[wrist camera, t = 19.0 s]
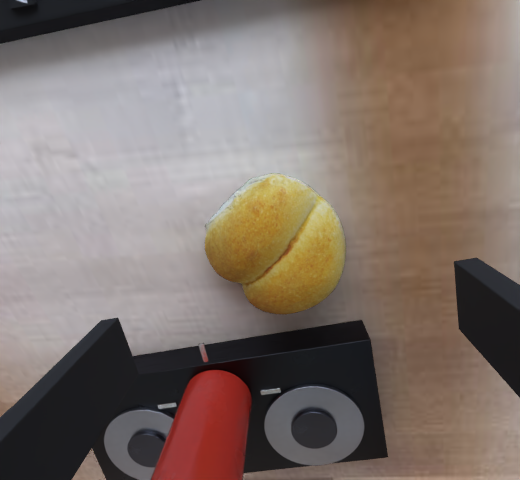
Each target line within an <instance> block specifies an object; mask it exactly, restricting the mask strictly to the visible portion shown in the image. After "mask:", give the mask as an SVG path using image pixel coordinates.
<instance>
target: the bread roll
mask: <svg viewBox="0 0 520 480" xmlns="http://www.w3.org/2000/svg"><path fill="white" fill-rule="evenodd" d="M205 227H206V238H205V251H206V255H207V257H208V259H209V262H210V264H211V266H212V267H213V269H214V270H215V271H216V272H217V274H219V275H220V276H221V277H223V278H225V279H227V280H229V281H232V282H237V283H241V284H242V286H243V290H244V293H245V295H246V297H247V299H248V300H249V302H250V303H251V304H252V305H253V306H255V307H256V308H258V309H260V310H262V311H265V312H269V313H274V314H291V313H296V312H300V311H303V310H306V309H309V308H311V307H313V306H315V305H317V304H318V303H320V302H321V301H323V300H324V299H325V298H327V297H328V296H329V295H330V294H331V293H332V291H333V290H334V289H335V287H336V285H337V284H338V282H339V280H340V277H341V274H342V272H343V268H344V263H345V256H346V243H345V236H344V232H343V228H342V224H341V222H340V220H339V218H338V216H337V214H336V212H335V211H334V209H333V208H332V206H331V205H330V204H329V203H328V202H327V201H326V200H325V199H323V198H322V197H321V196H319V195H318V194H317V193H316V192H315V191H314V190H313V189H312V188H311V187H309V186H308V185H306V184H305V183H303V182H302V181H299V180H297V179H295V178H292V177H290V176H286V175H282V174H278V173H271V174H267V175H263V176H259V177H256V178H251V179H250V180H248V181H247V182H246V183H245V184H244V185H243V186H242V187H240V188H239V189H238V190H237V191H236V192H235V193H234V194H233V195H232V196H231V197H230V198H229V199H228V201H226V202H225V203H223V205H222V206H221V207H220V209H219V211H218V212H217V213H216V214H215V215H213V216H212V218H211V220H210V221H209V222H208V223H207V224H206V225H205Z"/></svg>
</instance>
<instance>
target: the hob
mask: <svg viewBox="0 0 520 480" xmlns="http://www.w3.org/2000/svg"><path fill="white" fill-rule="evenodd" d="M132 357H133V359H134V362H135V365H136V367H137V370H138V373H139V374H138V376H137V378H136V379H135V381H134V382H133V384H132V385H131V387H130V389H129V390H128V392H127V393H126V395H125V396H124V398H123V400H122V401H121V403H120V404H119V406H118V407H117V409H116V410H115V412H114V414H113V415H112V417H111V418H110V420H109V421H108V423H107V425H106V426H105V428H104V429H103V431H102V432H101V434H100V436H99V437H98V439H97V440H96V442H95V443H94V445H93V447H92V449H93V451H94V454H95V456H96V458H97V460H98V462H99V464H100V467H101V469H102V471H103V473H104V475H105V478H106V480H138V479H136V478H133V477H131V476H129V475H127V474H126V473H124V472H123V471H121V470H120V469H119V468H118V467H117V466H116V465H115V464H114V463H113V462H112V461H111V459H110V458H109V456H108V454H107V452H106V449H105V445H104V436H105V432H106V429H107V427H108V425H109V424H110V422H111V421H112V420H113V419H114V418H115V417H116V416H117V415H119V414H120V413H122V412H124V411H126V410H129V409H133V408H139V407H149V408H156V409H160V410H163V411H166V412H168V413H170V414H172V415H174V416H175V414H176V412H177V409H178V406H179V404H180V401H181V399H182V396H183V393H184V391H185V388H186V386H187V384H188V382H189V381H190V380H191V379H192V378H193V377H194V376H196V375H197V374H199V373H201V372H204V371H208V370H223V371H227V372H230V373H232V374H234V375H236V376H237V377H239V378H240V379H241V380H242V381H243V382H244V383H245V384H246V385H247V387H248V389H249V390H250V393H251V397H252V404H251V412H250V421H249V429H248V438H247V447H246V455H245V464H244V472H243V473H248V472H257V471H266V470H276V469H285V468H294V467H303V466H313V465H304V464H300V463H296V462H293V461H291V460H289V459H287V458H285V457H283V456H282V455H280V454H279V453H278V452H277V451H276V450H275V449H274V448H273V447H272V446H271V444H270V443H269V441H268V439H267V436H266V434H265V429H264V421H265V415H266V412H267V409H268V407H269V405H270V404H271V403H272V401H273V400H274V399H275V398H276V397H277V396H278V395H280V394H281V393H282V392H284V391H286V390H288V389H290V388H292V387H296V386H299V385H304V384H321V385H327V386H331V387H334V388H336V389H339V390H341V391H343V392H344V393H346V394H347V395H348V396H350V397H351V398H352V399H353V400H354V401H355V402H356V404H357V405H358V407H359V408H360V410H361V413H362V416H363V420H364V433H363V437H362V440H361V442H360V444H359V445H358V447H357V448H356V449H355V450H354V451H353V452H352V453H351V454H350V455H348V456H347V457H345V458H344V459H342V460H340V461H337V462H335V463H340V462H349V461H359V460H368V459H377V458H386V457H388V454H387V447H386V440H385V434H384V427H383V421H382V414H381V407H380V401H379V394H378V387H377V381H376V374H375V367H374V361H373V354H372V347H371V341H370V338H369V335H368V333H367V331H366V328H365V326H364V324H363V321H362V320H359V321H353V322H346V323H340V324H334V325H327V326H321V327H315V328H309V329H302V330H296V331H290V332H283V333H277V334H271V335H265V336H258V337H252V338H246V339H239V340H233V341H227V342H220V343H214V344H208V345H204V343H200V344H199V346H195V347H189V348H183V349H176V350H170V351H164V352H158V353H151V354H145V355H139V356H132Z"/></svg>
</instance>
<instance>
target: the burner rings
mask: <svg viewBox="0 0 520 480" xmlns="http://www.w3.org/2000/svg"><path fill="white" fill-rule="evenodd" d="M174 417H175V416H174V415H172V414H170V413H168V412H166V411H163V410H160V409H156V408H149V407H139V408H133V409H129V410H126V411H124V412H122V413H120V414H119V415H117V416H116V417H115V418H114V419H113V420H112V421H111V422H110V424H109V425H108V427H107V429H106V432H105V436H104V445H105V449H106V452H107V454H108V456H109V458H110V459H111V461H112V462H113V463H114V464H115V465H116V466H117V467H118V468H119V469H120V470H121V471H123V472H124V473H126V474H127V475H129V476H131V477H133V478H136V479H138V480H150V479H151V476H152V474H153V471H154V469H155V466H156V463H157V461H158V458H159V456H160V453H161V450H162V448H163V445H164V443H165V440H166V437H167V435H168V432H169V430H170V427H171V424H172V422H173V419H174ZM264 429H265V434H266V436H267V439H268V441H269V443H270V444H271V446H272V447H273V448H274V449H275V450H276V451H277V452H278V453H279V454H280V455H282V456H283V457H285V458H287V459H289V460H291V461H293V462H296V463H300V464H304V465H314V466H317V465H327V464H331V463H335V462H337V461H340V460H342V459H344V458H345V457H347V456H348V455H350V454H351V453H352V452H353V451H354V450H355V449H356V448H357V447H358V445H359V444H360V442H361V440H362V437H363V433H364V420H363V416H362V413H361V410H360V408H359V407H358V405H357V404H356V402H355V401H354V400H353V399H352V398H351V397H350V396H348V395H347V394H346V393H344V392H343V391H341V390H339V389H336V388H334V387H331V386H327V385H321V384H304V385H299V386H296V387H292V388H290V389H288V390H286V391H284V392H282V393H281V394H280V395H278V396H277V397H276V398H275V399H274V400H273V401H272V403H271V404H270V405H269V407H268V409H267V412H266V415H265V421H264Z"/></svg>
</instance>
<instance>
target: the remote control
mask: <svg viewBox="0 0 520 480" xmlns="http://www.w3.org/2000/svg"><path fill="white" fill-rule="evenodd" d="M195 1H200V0H0V43H5V42H10V41H14V40H19V39H23V38H28V37H33V36H37V35H42V34H47V33H51V32H56V31H61V30H65V29H70V28H74V27H79V26H84V25H88V24H93V23H98V22H102V21H107V20H112V19H116V18H121V17H125V16H130V15H135V14H139V13H144V12H149V11H153V10H158V9H163V8H167V7H172V6H176V5H181V4H186V3H190V2H195Z"/></svg>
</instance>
